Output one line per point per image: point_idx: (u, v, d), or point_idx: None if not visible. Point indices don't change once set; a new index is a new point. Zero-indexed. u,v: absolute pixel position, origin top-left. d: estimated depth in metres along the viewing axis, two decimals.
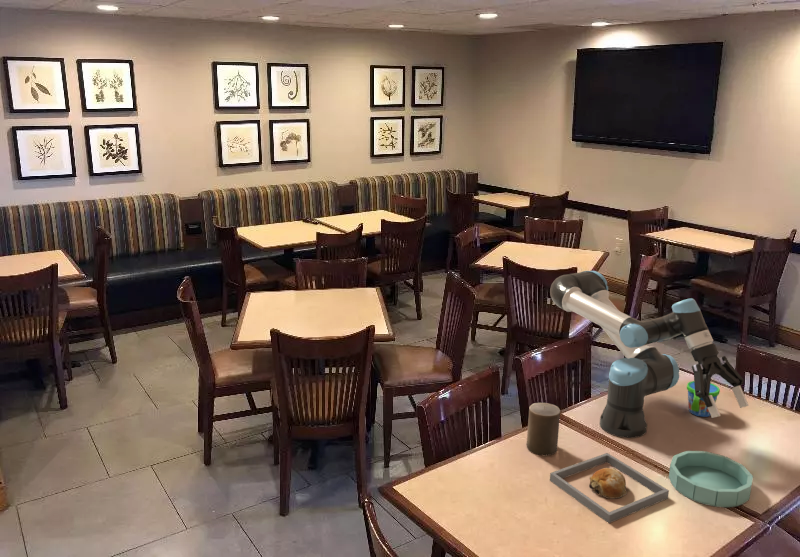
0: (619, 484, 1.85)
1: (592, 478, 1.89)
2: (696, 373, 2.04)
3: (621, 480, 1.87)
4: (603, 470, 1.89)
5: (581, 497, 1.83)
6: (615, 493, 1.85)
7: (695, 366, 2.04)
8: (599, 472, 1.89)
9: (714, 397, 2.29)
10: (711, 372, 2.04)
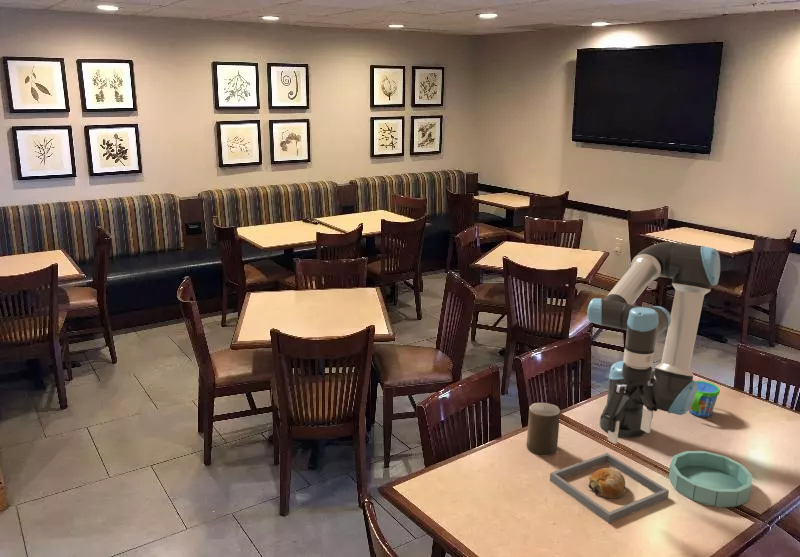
0: (618, 484, 1.85)
1: (591, 478, 1.89)
2: (616, 394, 1.78)
3: (620, 480, 1.87)
4: (602, 470, 1.89)
5: (581, 497, 1.83)
6: (614, 493, 1.85)
7: (619, 387, 1.77)
8: (598, 472, 1.89)
9: (714, 397, 2.29)
10: (631, 397, 1.79)
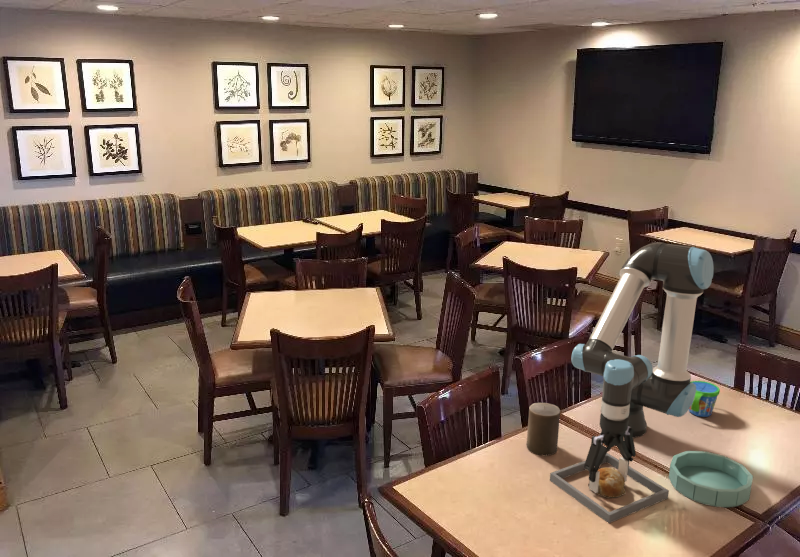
0: (618, 483, 1.85)
1: None
2: (593, 446, 1.83)
3: (620, 479, 1.87)
4: (602, 469, 1.89)
5: (581, 497, 1.83)
6: (614, 492, 1.85)
7: (595, 440, 1.82)
8: None
9: (714, 397, 2.29)
10: (609, 448, 1.83)
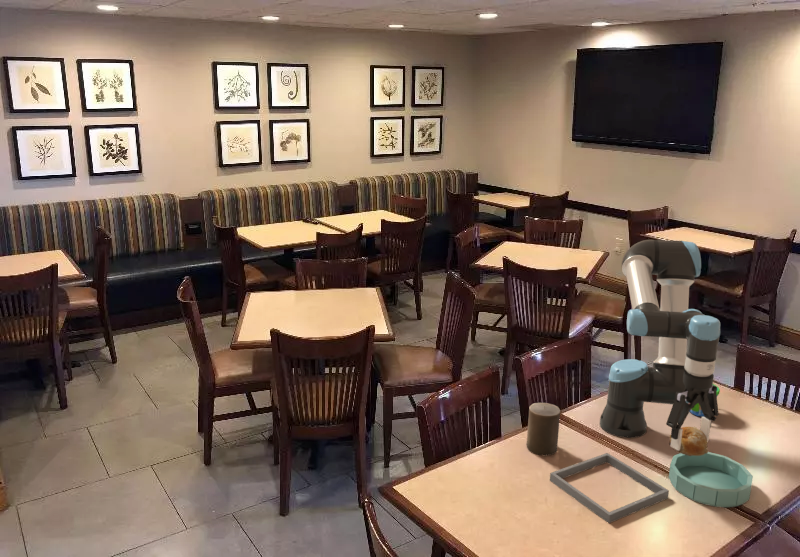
0: (701, 441, 1.83)
1: None
2: (677, 403, 1.81)
3: (703, 438, 1.84)
4: (684, 428, 1.87)
5: (581, 497, 1.83)
6: (697, 450, 1.83)
7: (679, 396, 1.80)
8: None
9: None
10: (693, 404, 1.81)
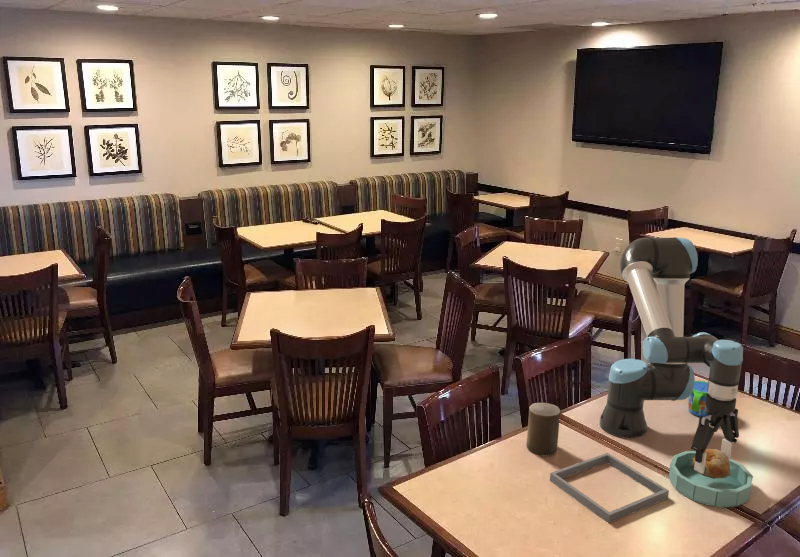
0: (725, 464, 1.86)
1: None
2: (701, 427, 1.83)
3: (726, 460, 1.87)
4: (706, 451, 1.90)
5: (581, 497, 1.83)
6: (721, 473, 1.85)
7: (703, 420, 1.82)
8: None
9: None
10: (717, 428, 1.84)
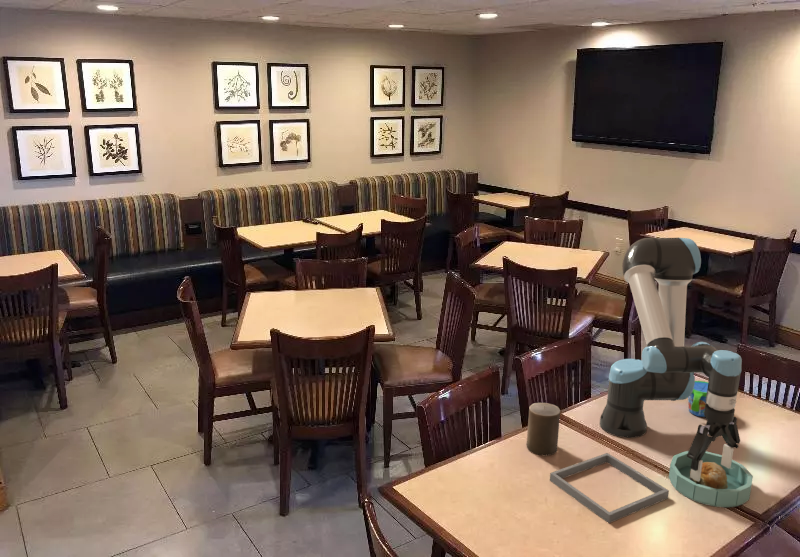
0: (722, 477, 1.87)
1: None
2: (699, 435, 1.84)
3: (723, 474, 1.88)
4: (704, 464, 1.91)
5: (581, 497, 1.83)
6: (718, 486, 1.87)
7: (702, 428, 1.83)
8: None
9: None
10: (714, 437, 1.84)
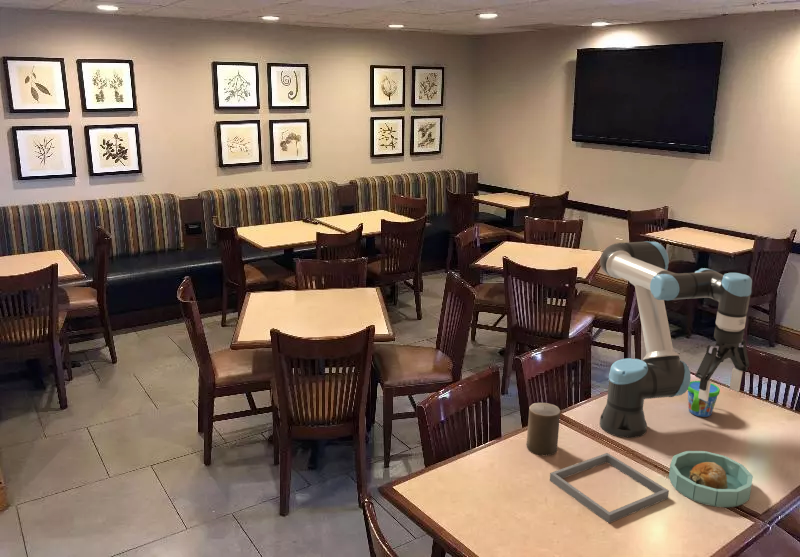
0: (722, 477, 1.87)
1: (693, 472, 1.91)
2: (708, 355, 1.88)
3: (723, 474, 1.88)
4: (704, 464, 1.91)
5: (581, 497, 1.83)
6: (718, 486, 1.87)
7: (711, 349, 1.87)
8: (700, 466, 1.91)
9: (714, 397, 2.29)
10: (723, 358, 1.89)
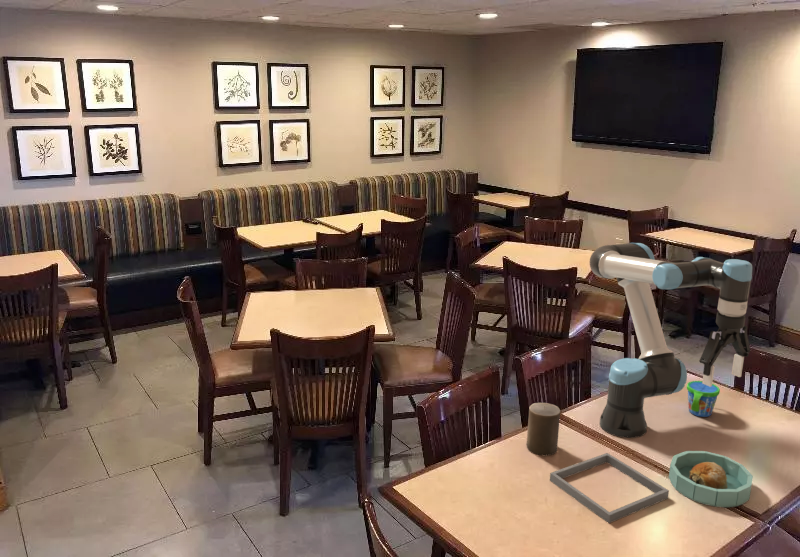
0: (721, 477, 1.87)
1: (692, 472, 1.91)
2: (711, 341, 1.91)
3: (723, 474, 1.88)
4: (704, 464, 1.91)
5: (581, 497, 1.83)
6: (718, 486, 1.87)
7: (714, 334, 1.91)
8: (700, 466, 1.91)
9: (714, 397, 2.29)
10: (726, 343, 1.92)
